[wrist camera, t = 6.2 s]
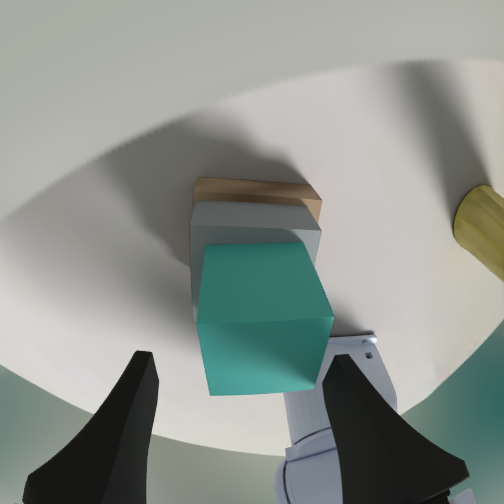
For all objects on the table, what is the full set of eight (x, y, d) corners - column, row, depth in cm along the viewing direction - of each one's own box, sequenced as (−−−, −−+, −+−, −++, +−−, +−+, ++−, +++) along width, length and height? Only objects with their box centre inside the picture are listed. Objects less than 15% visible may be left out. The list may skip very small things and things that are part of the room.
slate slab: (306, 205, 16) (321, 230, 13) (290, 292, 19) (299, 324, 16) (196, 200, 15) (189, 224, 13) (197, 289, 18) (193, 323, 16)
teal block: (303, 242, 14) (334, 316, 9) (295, 313, 16) (313, 389, 12) (205, 245, 13) (196, 323, 9) (212, 317, 16) (209, 395, 11)
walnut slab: (309, 183, 18) (322, 200, 16) (292, 273, 22) (300, 299, 19) (199, 175, 18) (193, 191, 15) (197, 269, 21) (194, 295, 19)
